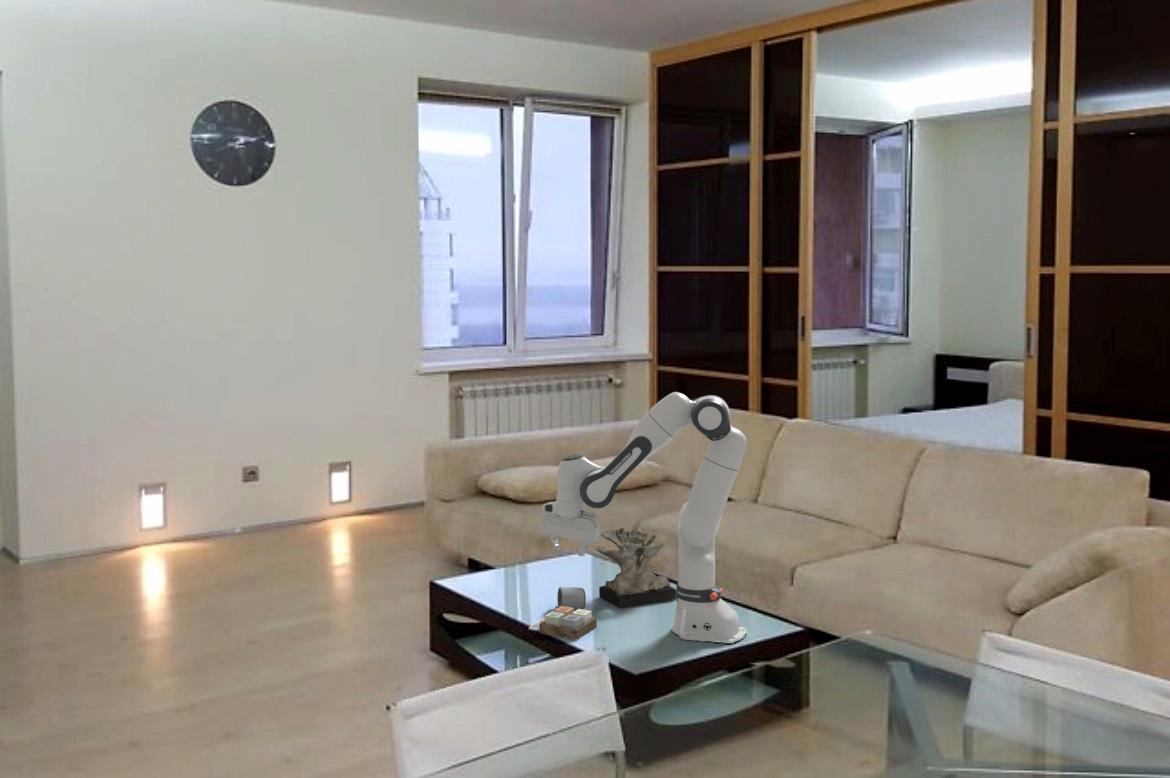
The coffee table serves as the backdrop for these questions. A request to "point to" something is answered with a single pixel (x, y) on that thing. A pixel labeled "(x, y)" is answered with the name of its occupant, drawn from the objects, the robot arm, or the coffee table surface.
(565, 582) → the coffee table surface
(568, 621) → the key slate
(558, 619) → the key sage
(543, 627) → the keypad base
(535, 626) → the card
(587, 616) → the key ivory
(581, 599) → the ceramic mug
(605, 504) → the robot arm
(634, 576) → the coral
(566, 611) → the key terracotta
